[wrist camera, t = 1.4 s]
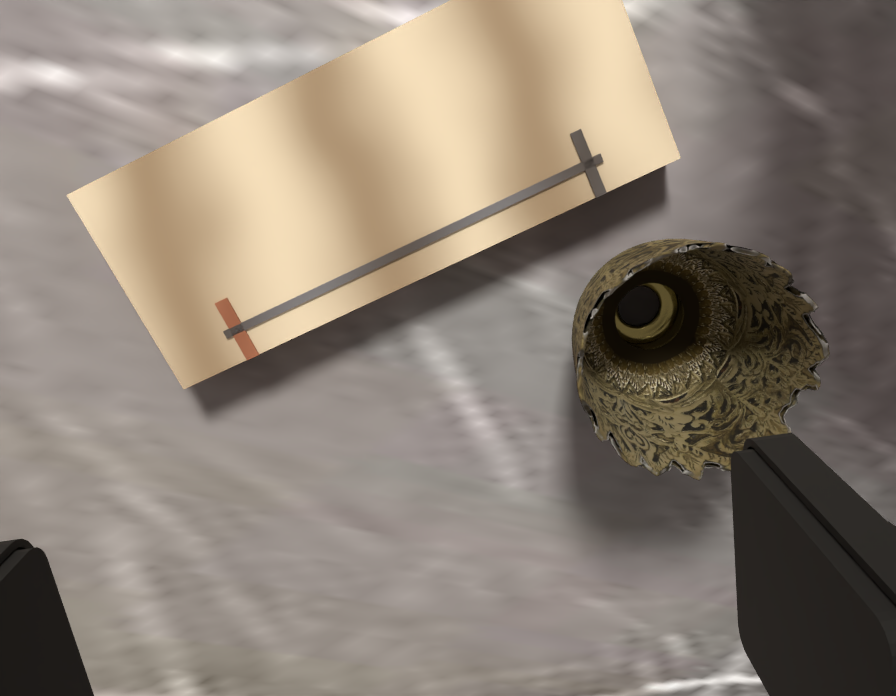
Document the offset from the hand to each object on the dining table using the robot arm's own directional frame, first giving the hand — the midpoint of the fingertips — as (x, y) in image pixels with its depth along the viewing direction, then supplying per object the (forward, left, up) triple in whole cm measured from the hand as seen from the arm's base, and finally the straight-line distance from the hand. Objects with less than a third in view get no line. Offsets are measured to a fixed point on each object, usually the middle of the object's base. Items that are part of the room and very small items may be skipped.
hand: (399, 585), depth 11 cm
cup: (-7, +5, -21) cm, 23 cm away
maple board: (0, -4, -21) cm, 21 cm away
